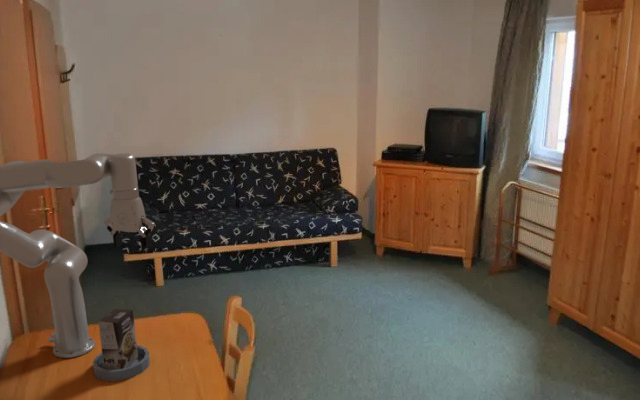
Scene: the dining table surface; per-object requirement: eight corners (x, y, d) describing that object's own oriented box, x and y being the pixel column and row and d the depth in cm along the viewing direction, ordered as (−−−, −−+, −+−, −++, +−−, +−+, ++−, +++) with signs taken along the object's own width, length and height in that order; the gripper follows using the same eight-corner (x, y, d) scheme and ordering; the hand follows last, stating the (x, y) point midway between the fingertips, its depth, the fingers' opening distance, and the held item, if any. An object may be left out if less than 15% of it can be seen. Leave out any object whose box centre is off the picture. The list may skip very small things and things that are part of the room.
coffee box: (122, 373, 167) (116, 322, 163) (103, 370, 168) (97, 321, 164) (139, 357, 176) (133, 309, 172) (120, 355, 177) (114, 307, 173)
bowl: (83, 376, 167) (81, 367, 166) (115, 350, 182) (114, 342, 181) (129, 383, 163) (128, 374, 162) (159, 356, 177) (158, 347, 177)
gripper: (93, 196, 172) (100, 249, 176) (143, 198, 168) (149, 253, 172) (109, 190, 179) (115, 241, 183) (157, 192, 175) (162, 245, 179)
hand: (131, 247), depth 178 cm, fingers open, 9 cm apart
